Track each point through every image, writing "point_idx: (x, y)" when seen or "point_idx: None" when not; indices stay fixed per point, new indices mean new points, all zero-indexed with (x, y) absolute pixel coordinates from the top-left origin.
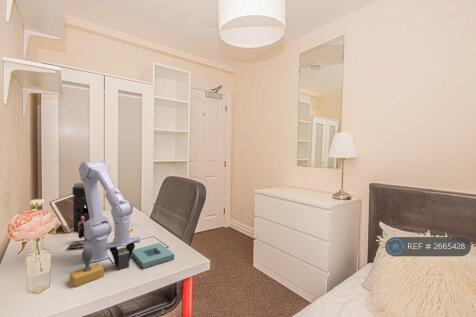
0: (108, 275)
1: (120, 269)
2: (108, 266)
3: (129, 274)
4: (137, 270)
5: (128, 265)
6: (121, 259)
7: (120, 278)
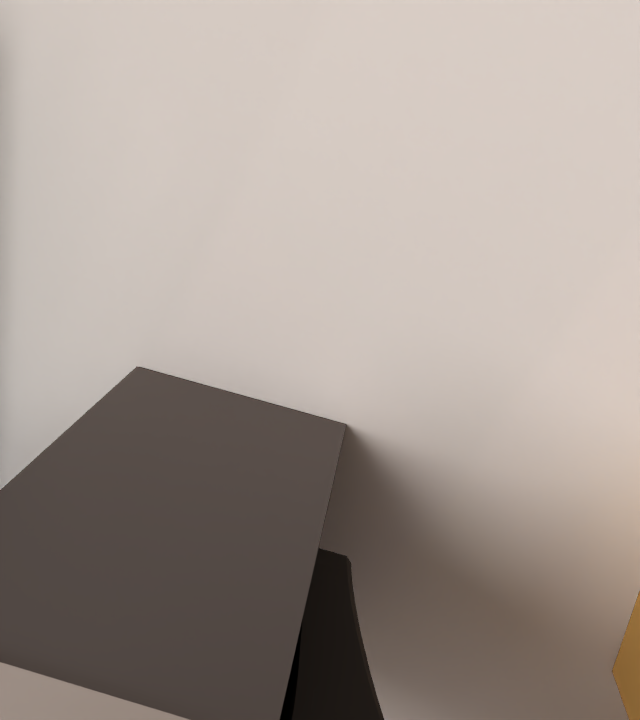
0: (608, 404)
1: (308, 415)
2: (388, 685)
3: (282, 25)
4: (52, 52)
5: (125, 387)
6: (218, 565)
7: (543, 20)
